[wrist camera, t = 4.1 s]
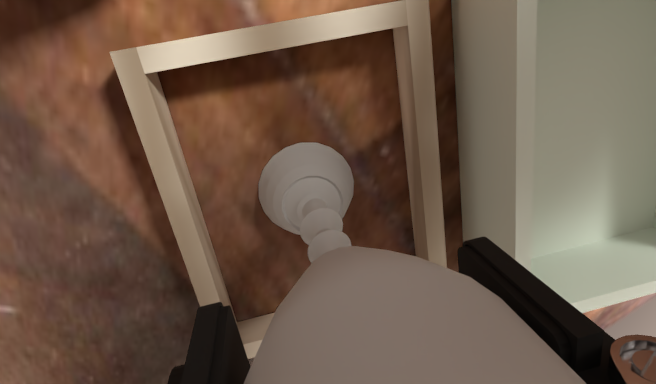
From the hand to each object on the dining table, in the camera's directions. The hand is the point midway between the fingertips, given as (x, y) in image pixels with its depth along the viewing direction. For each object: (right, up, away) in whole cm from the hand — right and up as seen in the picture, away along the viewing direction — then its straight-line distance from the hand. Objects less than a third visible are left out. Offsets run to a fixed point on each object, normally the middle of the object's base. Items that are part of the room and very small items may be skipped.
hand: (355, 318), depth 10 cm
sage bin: (+13, +7, +11) cm, 18 cm away
